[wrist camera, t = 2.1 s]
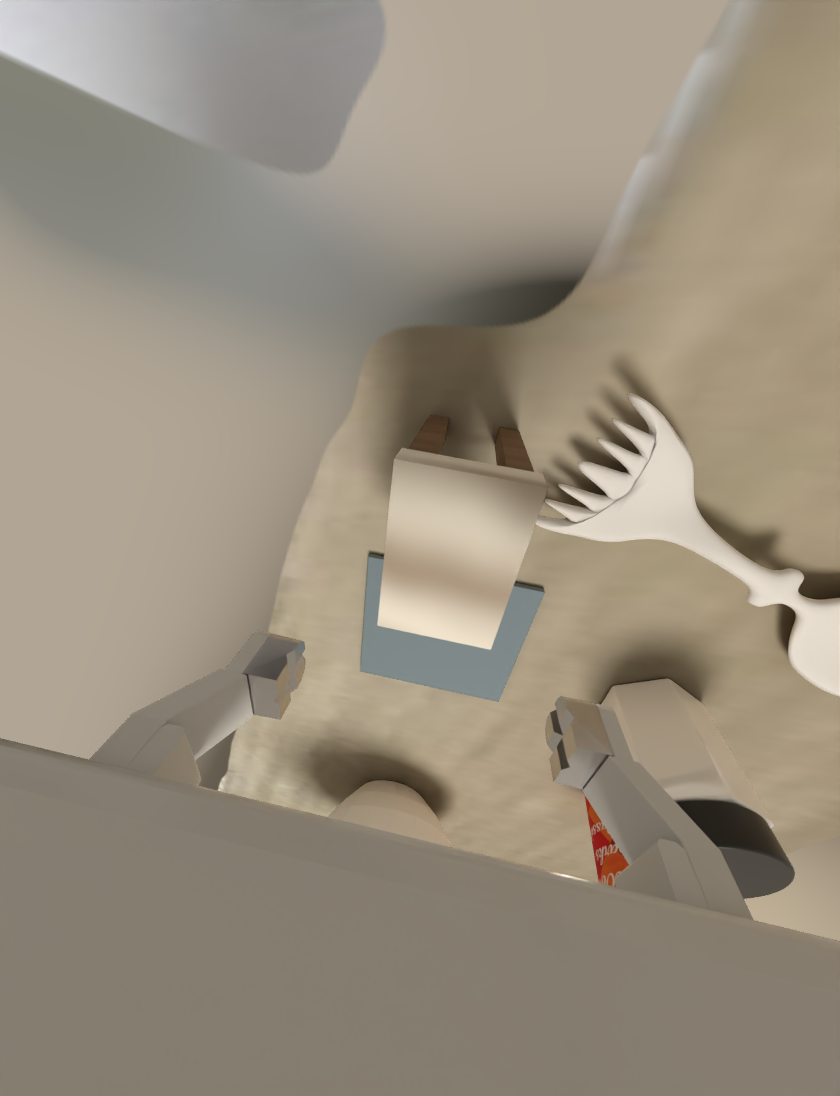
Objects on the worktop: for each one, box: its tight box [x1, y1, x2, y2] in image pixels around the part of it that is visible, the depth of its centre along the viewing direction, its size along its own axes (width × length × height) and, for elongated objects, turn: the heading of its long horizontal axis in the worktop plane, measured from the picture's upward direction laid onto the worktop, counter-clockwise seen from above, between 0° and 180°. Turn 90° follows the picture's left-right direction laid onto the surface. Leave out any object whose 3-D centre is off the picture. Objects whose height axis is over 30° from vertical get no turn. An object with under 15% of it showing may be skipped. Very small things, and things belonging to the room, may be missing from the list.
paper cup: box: [585, 796, 629, 887], centre depth 35 cm, size 8×8×14 cm
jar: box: [601, 678, 795, 899], centre depth 28 cm, size 9×8×12 cm
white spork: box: [536, 393, 840, 696], centre depth 23 cm, size 9×32×4 cm, turn 62°
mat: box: [360, 554, 545, 702], centre depth 32 cm, size 14×14×1 cm
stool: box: [377, 415, 548, 650], centre depth 20 cm, size 9×6×10 cm, turn 172°
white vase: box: [328, 780, 451, 847], centre depth 39 cm, size 19×18×25 cm
